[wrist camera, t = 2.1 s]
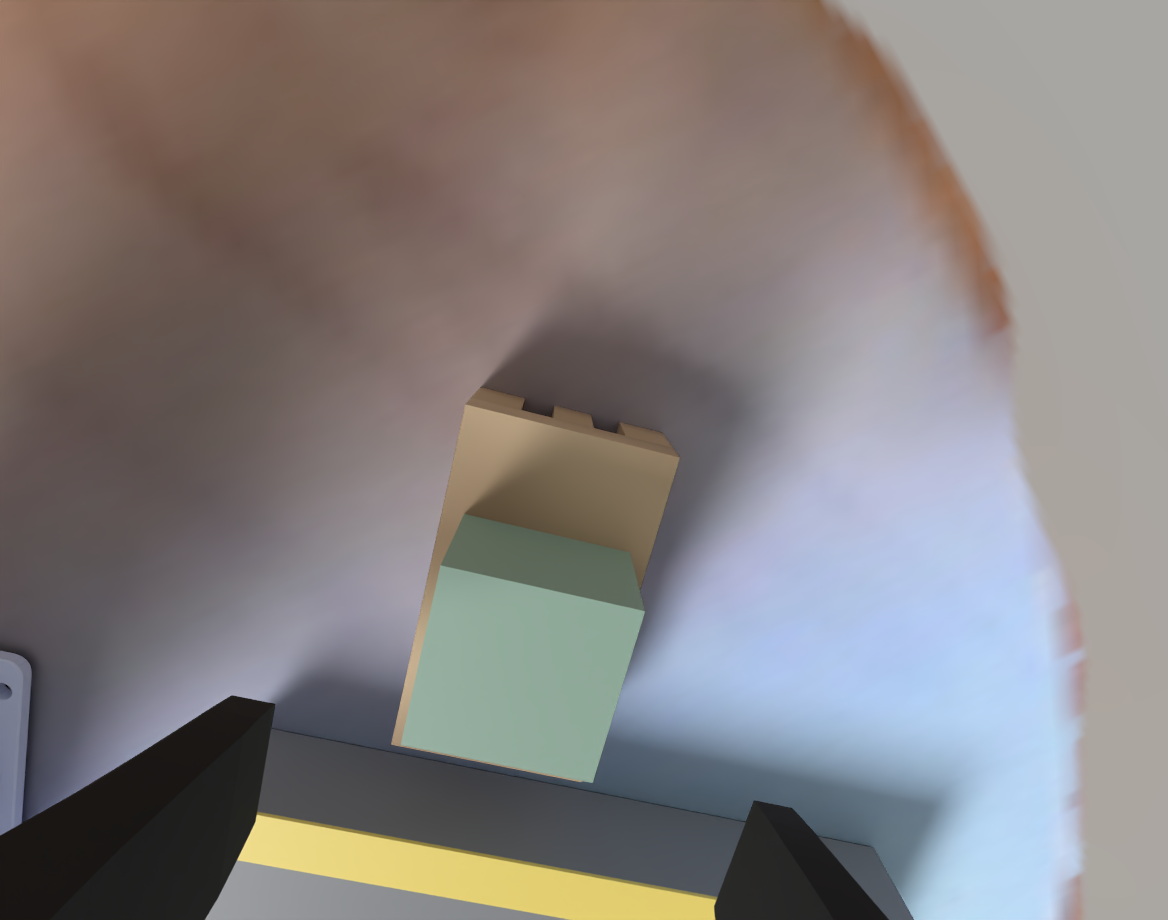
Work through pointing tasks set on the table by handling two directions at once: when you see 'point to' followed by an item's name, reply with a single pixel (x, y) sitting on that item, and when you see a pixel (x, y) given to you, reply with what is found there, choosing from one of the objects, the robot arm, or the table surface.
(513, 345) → the table surface
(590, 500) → the pallet
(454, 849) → the dock
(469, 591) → the green block
